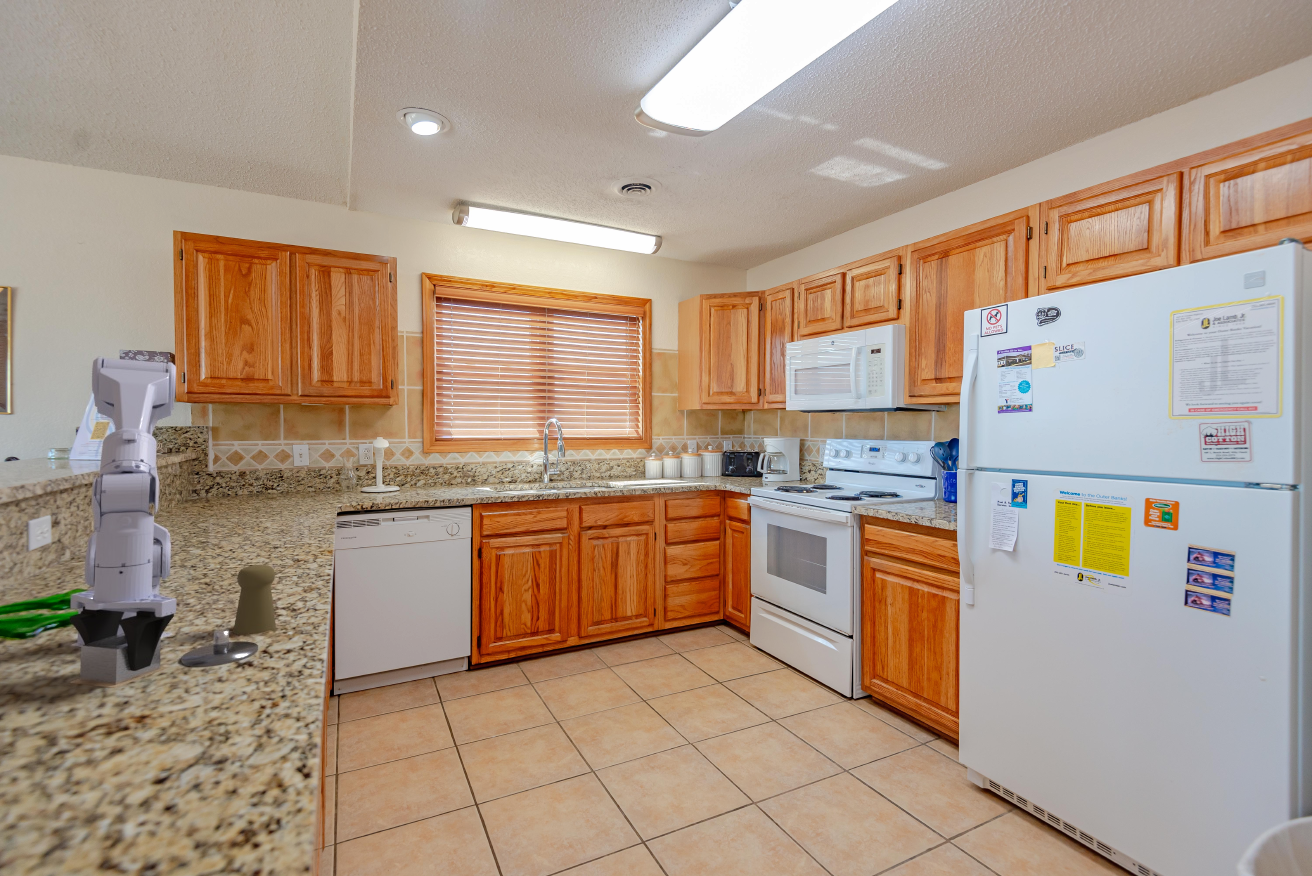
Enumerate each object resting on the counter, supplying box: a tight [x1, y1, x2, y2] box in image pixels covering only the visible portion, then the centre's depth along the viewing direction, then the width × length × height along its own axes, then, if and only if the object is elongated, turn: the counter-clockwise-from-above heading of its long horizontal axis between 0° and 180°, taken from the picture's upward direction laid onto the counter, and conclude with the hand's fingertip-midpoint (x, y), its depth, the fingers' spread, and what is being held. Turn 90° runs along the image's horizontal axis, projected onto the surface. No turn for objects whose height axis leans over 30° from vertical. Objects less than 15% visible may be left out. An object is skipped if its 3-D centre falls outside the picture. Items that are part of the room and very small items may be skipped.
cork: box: [232, 564, 277, 636], centre depth 98 cm, size 6×6×11 cm
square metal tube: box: [79, 633, 162, 685], centre depth 79 cm, size 6×6×4 cm
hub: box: [180, 628, 259, 668], centre depth 86 cm, size 9×9×4 cm
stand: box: [69, 665, 170, 689], centre depth 79 cm, size 7×7×4 cm
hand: (121, 666), depth 79 cm, fingers closed on square metal tube, 6 cm apart
